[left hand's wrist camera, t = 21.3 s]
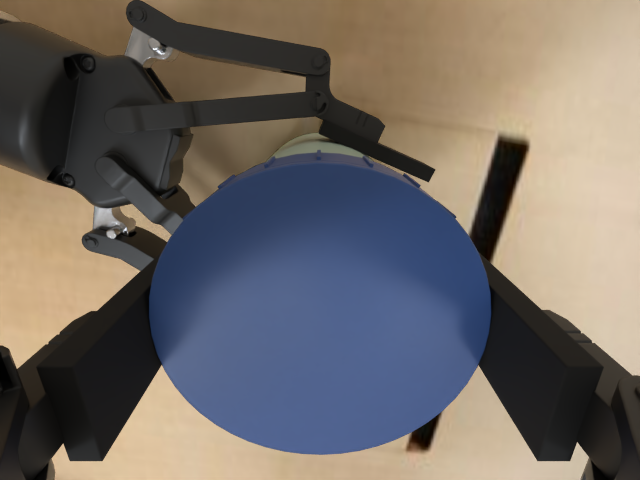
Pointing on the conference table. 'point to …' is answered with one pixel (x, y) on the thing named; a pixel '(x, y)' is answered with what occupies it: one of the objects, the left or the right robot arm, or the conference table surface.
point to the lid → (320, 305)
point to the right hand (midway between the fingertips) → (386, 244)
